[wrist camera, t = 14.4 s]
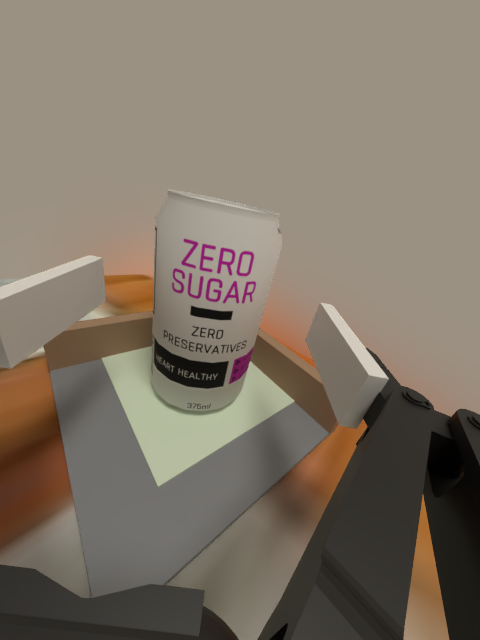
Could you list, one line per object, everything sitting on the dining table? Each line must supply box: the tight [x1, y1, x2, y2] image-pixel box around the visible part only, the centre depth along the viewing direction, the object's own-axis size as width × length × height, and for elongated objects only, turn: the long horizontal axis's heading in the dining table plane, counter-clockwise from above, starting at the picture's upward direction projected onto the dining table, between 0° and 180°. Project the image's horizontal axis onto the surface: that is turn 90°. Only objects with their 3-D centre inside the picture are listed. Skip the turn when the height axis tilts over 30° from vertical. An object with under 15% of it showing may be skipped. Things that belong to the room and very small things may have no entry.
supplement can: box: [151, 190, 282, 411], centre depth 18 cm, size 8×8×15 cm
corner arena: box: [43, 311, 338, 598], centre depth 19 cm, size 18×18×4 cm
